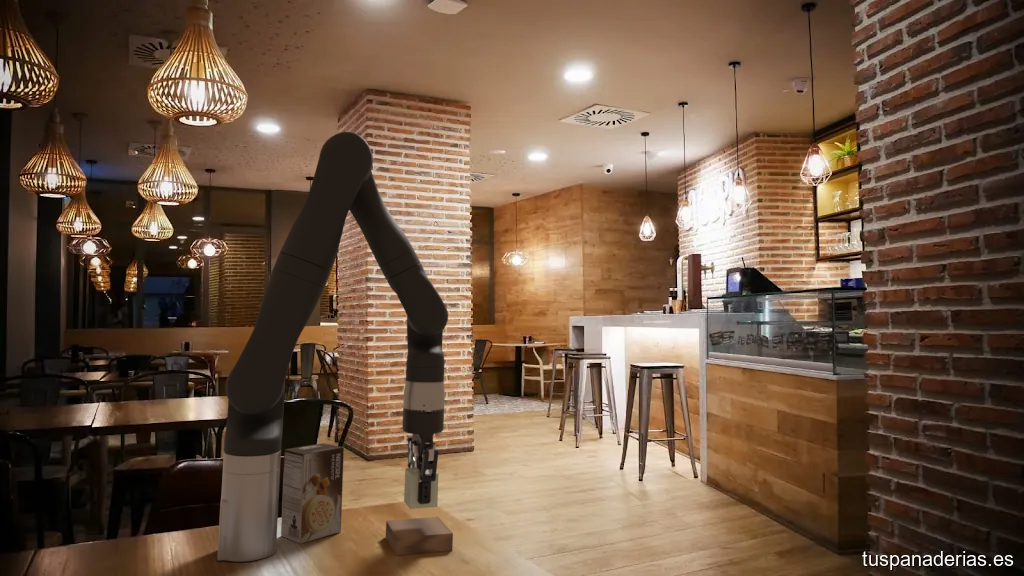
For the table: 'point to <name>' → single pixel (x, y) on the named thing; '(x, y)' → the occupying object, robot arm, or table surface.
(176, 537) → the table surface
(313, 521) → the coffee box
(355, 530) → the table surface
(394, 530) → the walnut plinth
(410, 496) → the sage block
